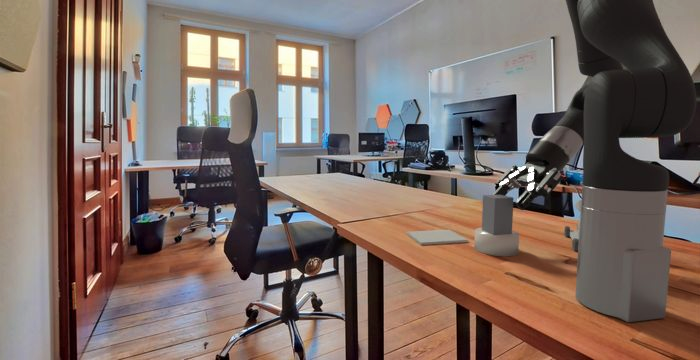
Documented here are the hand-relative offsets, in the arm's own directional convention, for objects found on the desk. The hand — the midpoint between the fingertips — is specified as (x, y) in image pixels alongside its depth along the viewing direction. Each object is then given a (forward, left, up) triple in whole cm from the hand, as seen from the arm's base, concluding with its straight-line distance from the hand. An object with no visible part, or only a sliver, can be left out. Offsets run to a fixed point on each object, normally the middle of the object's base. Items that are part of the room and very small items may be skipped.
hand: (505, 203), depth 73 cm
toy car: (-1, -24, -11) cm, 26 cm away
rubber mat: (+11, +11, -10) cm, 19 cm away
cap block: (0, +2, -6) cm, 7 cm away
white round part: (0, +2, -10) cm, 11 cm away
